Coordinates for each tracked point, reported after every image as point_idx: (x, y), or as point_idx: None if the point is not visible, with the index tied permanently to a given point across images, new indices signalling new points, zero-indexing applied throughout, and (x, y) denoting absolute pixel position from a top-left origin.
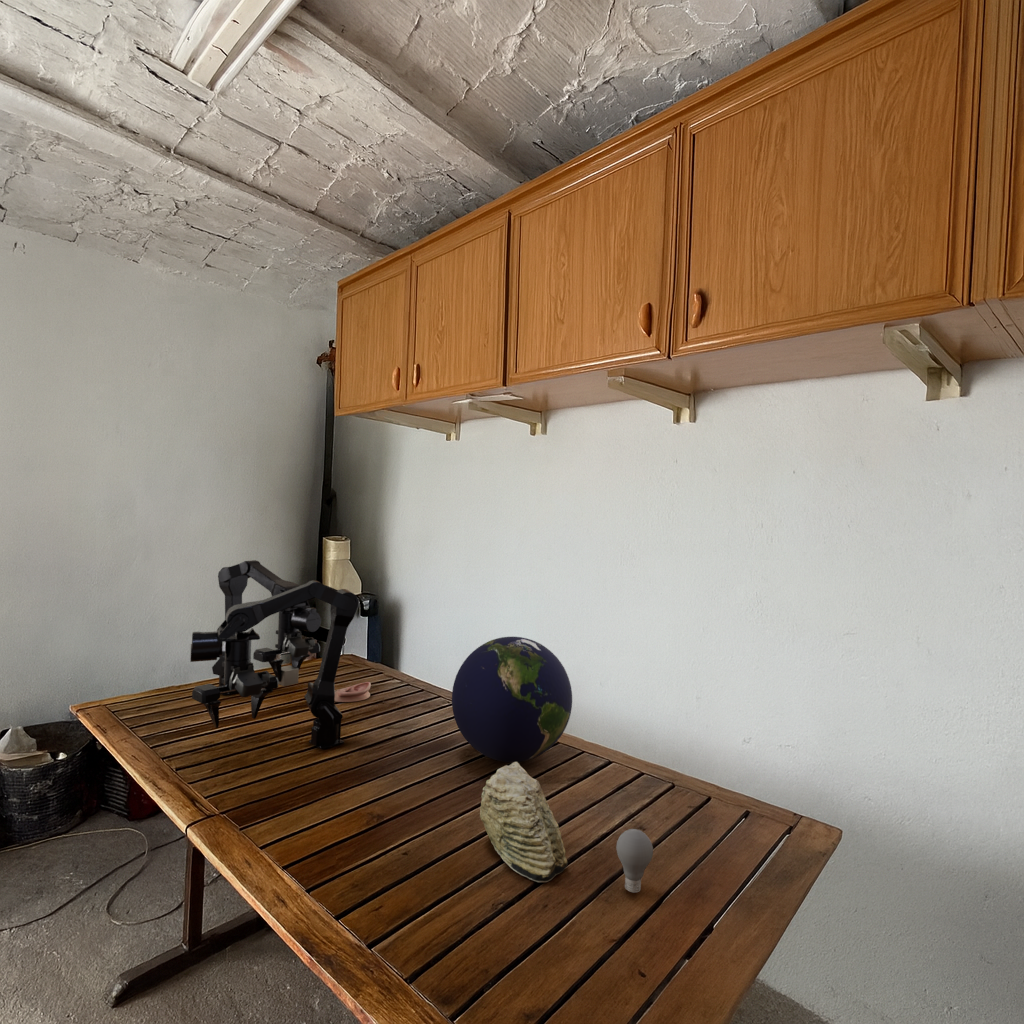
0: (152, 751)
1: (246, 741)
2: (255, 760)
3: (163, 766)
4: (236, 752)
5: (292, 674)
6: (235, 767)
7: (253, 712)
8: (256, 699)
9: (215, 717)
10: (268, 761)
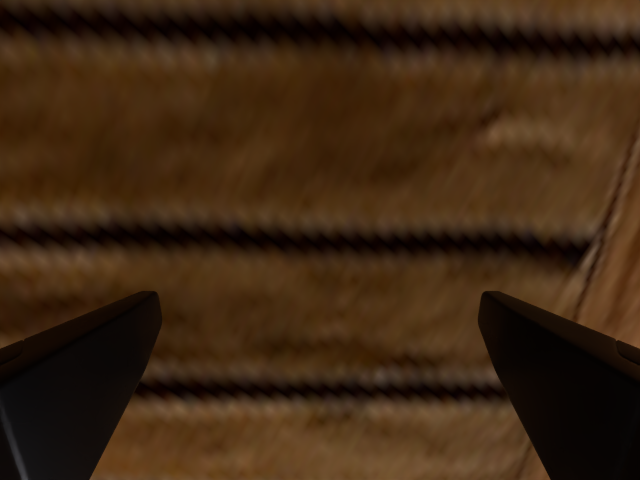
0: (529, 471)
1: (196, 340)
2: (264, 86)
3: (595, 319)
4: (291, 253)
5: None
6: (389, 73)
7: (137, 336)
8: (24, 426)
9: (586, 331)
10: (213, 15)
